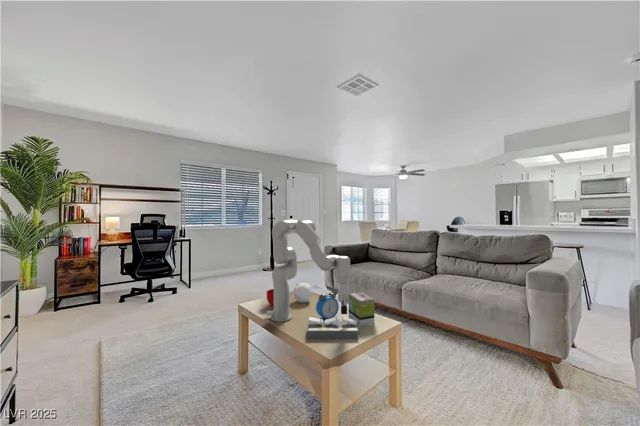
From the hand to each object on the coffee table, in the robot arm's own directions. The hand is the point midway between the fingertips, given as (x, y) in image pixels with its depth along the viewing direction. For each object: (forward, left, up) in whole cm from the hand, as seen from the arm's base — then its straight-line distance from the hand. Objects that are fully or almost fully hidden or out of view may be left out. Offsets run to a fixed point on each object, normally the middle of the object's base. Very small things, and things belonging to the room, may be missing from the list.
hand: (344, 313), depth 149 cm
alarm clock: (-8, +20, -10) cm, 24 cm away
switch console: (-6, -1, -10) cm, 12 cm away
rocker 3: (+3, 0, -5) cm, 5 cm away
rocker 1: (-15, 0, -5) cm, 16 cm away
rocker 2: (-6, 0, -5) cm, 8 cm away
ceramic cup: (-44, +44, -10) cm, 64 cm away
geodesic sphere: (-25, +51, -10) cm, 58 cm away
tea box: (+12, +16, -10) cm, 23 cm away
